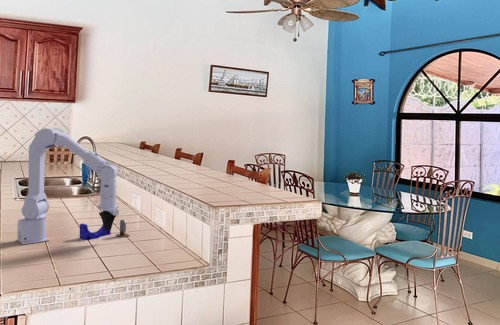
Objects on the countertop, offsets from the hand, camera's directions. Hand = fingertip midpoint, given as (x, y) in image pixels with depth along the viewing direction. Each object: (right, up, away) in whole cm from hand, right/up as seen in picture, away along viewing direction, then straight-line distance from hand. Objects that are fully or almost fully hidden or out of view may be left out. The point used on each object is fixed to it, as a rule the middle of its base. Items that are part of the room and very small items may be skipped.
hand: (107, 230), depth 155 cm
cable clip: (-7, -4, +8) cm, 12 cm away
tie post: (+2, -4, +11) cm, 12 cm away
